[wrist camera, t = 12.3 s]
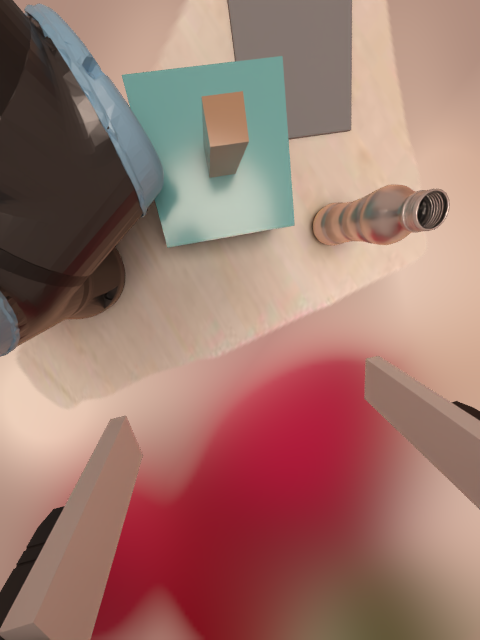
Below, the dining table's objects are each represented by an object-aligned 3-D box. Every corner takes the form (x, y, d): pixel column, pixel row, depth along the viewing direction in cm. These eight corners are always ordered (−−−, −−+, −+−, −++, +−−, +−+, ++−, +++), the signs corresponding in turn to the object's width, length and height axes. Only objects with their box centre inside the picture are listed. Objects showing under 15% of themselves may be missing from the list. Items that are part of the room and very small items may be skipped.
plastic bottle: (321, 253, 42) (418, 261, 23) (301, 223, 39) (390, 204, 21) (349, 228, 41) (472, 215, 22) (329, 196, 39) (449, 152, 20)
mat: (246, 145, 34) (246, 144, 34) (225, -15, 29) (225, -18, 28) (349, 130, 36) (351, 129, 36) (350, -24, 30) (352, -27, 30)
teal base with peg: (178, 245, 37) (149, 251, 19) (149, 128, 32) (66, -31, 13) (271, 229, 39) (331, 219, 20) (259, 113, 33) (326, -53, 14)
